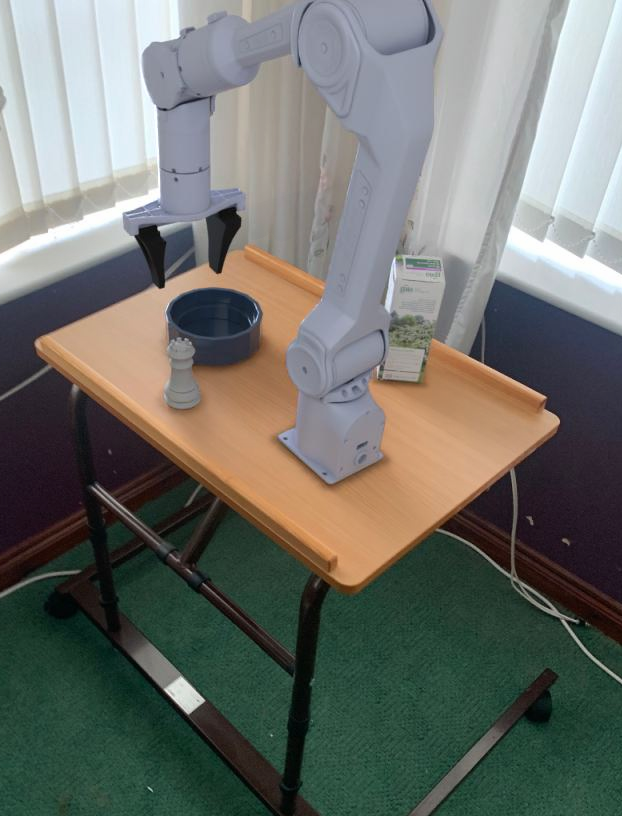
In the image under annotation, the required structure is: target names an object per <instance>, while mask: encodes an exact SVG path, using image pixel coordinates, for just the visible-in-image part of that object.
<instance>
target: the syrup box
mask: <svg viewBox="0 0 622 816" xmlns="http://www.w3.org/2000/svg"><path fill="white" fill-rule="evenodd" d="M446 285H447V284H446V277H445V271H444V262H443V257H441V256H428V255H413V254H400V253H399V254H398V253H397V254H395V257H394V260H393V263H392V266H391V269H390V273H389V276H388V283H387V290H386V295H385V301H384V305H383V306H384V307H385V309H386V310H387V311H388V313H389V314H390V315H391V317H392V319H391V322H390V325H389V331H388V336H389V353H388V356H387V358H386V360H385V361H384V362H383V363H382V364H381V365H379V366H377V367H376V379H377V381H385V382H386V381H387V382H399V383H414V384H422V383H423V381H424V375H425V372H426V367H427V363H428V359H429V355H430V351H431V347H432V343H433V338H434V334H435V331H436V326H437V322H438V318H439V313H440V310H441V305H442V303H443V302H442V301H443V297H444V293H445V289H446Z"/></svg>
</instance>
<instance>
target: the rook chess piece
mask: <svg viewBox="0 0 622 816" xmlns="http://www.w3.org/2000/svg"><path fill="white" fill-rule="evenodd" d="M170 342H171V344H169V345H168V346H167V349H166V354H167V355H168V357H169V361H168V364H169V366H170V374H169V376H170V377H169V379H168V381H167V383H166V384H165V386H164V390H163V391H164V395H163V399H164V402H165V403H166V404H167V405H168V406H169V407H170V408H172V409H174V410H177V411H187V410H191V409H193V408H194V407H196V406H197V405H198V404H199V403H200V402H201V399H202V395H201V387H200V385H199V383H198V382H197V380H196V379H195V377H194V371H193V365H194V363H193V359H192V358H191V357H192V356H193V355H194V353H195V348H194V347H193V346H192V343H191V342H189V339H187V338H185V339H184V341H181V337H180V338H177V341H176V342H175V340H174V339H173V340H171V341H170Z"/></svg>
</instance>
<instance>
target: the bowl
mask: <svg viewBox="0 0 622 816" xmlns="http://www.w3.org/2000/svg"><path fill="white" fill-rule="evenodd" d="M164 317H165V318H164V319H165V337H166V338H165V339H166V341H167V345H168V346H169V344H171V342H170V341H171V340H173V339H174V340H175V342H176V341H177V338H180V337H181V341H184V339H185V338H187V339H189V342H191V343H192V346H193V347H194V348H195V353H194V355H193V356H192V357H191V358H192V359H193V365H200V366H206V367H207V366H209V367H221V366H229V365H230V366H231V365H235V364H238V363H240V362H242V361H245V360H247V359H250V358H251V357H252V356H253V355H254V354H255V353H256V352H257V351H258V350H259V349H260V346H261V342H262V338H263V319H264V312H263V310H262V308H261V305H260V303H259V302H258V300H256V299H254V298H253V297H252V296H250V295H249V294H247V293H246V292H243V291H239V290H237V289H234V288H227V287H217V286H210V287H209V286H208V287H199V288H194V289H191V290H187V291H185V292H182V293H180V294H178V295H177V296H176V297H174V298H173V299H172V300H170V301H169V302H168V305H167V307H166V309H165V312H164Z"/></svg>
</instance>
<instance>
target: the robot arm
mask: <svg viewBox="0 0 622 816" xmlns="http://www.w3.org/2000/svg"><path fill="white" fill-rule="evenodd" d="M435 9H436V8H435V7H434V5H433V2H432V1H431V0H294V2H291V3H289V4H287V5H285V6H283V7H280V8H279V9H277V10H275V11H272V12H271V13H269V14H266V15H265V16H262V17H260V18H259V19H256V20H254V21H252V22H249V21H248V20H246V19H245V18H244V17H241V16H239V15H235V14H229V15H228V12H227V10H222V11H217V12H213V13H210V14H209V15H207V16H206V22H207V24H206V25H203V26H201V27H198V28H196V27H195V26H194V25H192V26H187V27H184V28H182V29H180V30H179V37H178V38H174V39H169V40H165V41H151V42H150V43H149V45H148V46H146V48H145V49H144V50H143V52H142V53H141V57H140V66H139V67H140V77H141V82H142V86H143V88H144V91H145V93H146V95H147V97H148V99H149V100H150V102H151V103H152V104H153V105H154V120H155V121H154V122H155V139H156V141H155V142H156V159H157V160H156V161H157V175H158V176H157V177H158V178H157V179H158V193H159V194H158V195H159V196H158V197H159V198H156V199H154V200H152V201H150V202H148V203H145V204H143V205H141V206H138V207H136V208H134V209H131V210H127V211H123V212H122V214H121V215H122V224H123V230H124V231H125V232H126V233H127V234H128V236H130V237H132V236H133V238H134V239H135V241H136V243H137V244H138V246H139V248H140V250H141V252H142V254H143V257H144V259H145V261H146V264H147V267H148V269H149V272H150V277H151V280H152V283H153V285H154V286H155V287H156V288H157V289H159V290H161V289H165V288H166V274H165V273H166V272H165V255H166V248H167V244H168V241H166V240H165V239H164V238H163V236H161V230H159V227H165V226H168V225H174V224H178V223H191V222H197V221H201V220H204V219H205V222H206V230H207V245H208V247H207V249H208V250H207V258H208V267H209V269H211V270H212V271H213V273H215V274H216V275H220V274H222V272H223V270H224V269H223V268H224V264H225V261H226V257H227V254H228V252H229V250H230V247H231V245H232V242H233V241H234V238H235V236H236V235H237V233H238V232H239V231H240V229H241V227H242V216H240V215H239V214H238V212H242V211H245V210H246V193H245V192H243V190H241V189H240V188H239V187H232V188H227V189H226V188H225V189H211V188H212V187H211V117H212V116H214V112H216V99H217V96H218V94H221V93H225V92H228V91H230V90H235V89H238V88H241V87H243V86H247V85H249V84H250V83H252V81H254V80H255V78H256V77H257V76H258V74H259V71H260V68H261V65H262V63H265V62H269V61H272V60H276V59H279V58H283V57H286V56H290V55H291V57H292V62H293V66H294V67H295V68H297V69H301V68H302V69H303V72H304V73H305V76H306V78H307V79H308V81H309V82H310V84H311V85H312V87H313V88H314V89H315V91H316V92H317V94H318V95H319V96H320V97H321V99H322V101H323V102H324V103H325V104H326V106H327V107H328V108H329V110H330V111H331V113H333V115H334V117H335V118H336V119H337V120H338V122H339V123H340V124H341V125H342V127H343V128H344V130H345V131H347V132H349V133H351V134H354V135H355V136H356V138H357V141H358V146H357V150H356V156H355V159H354V163H353V167H352V170H351V175H350V179H349V183H348V189H347V192H346V196H345V200H344V204H343V207H342V208H343V209H342V213H341V217H340V221H339V225H338V229H337V232H336V233H337V234H336V238H335V242H334V246H333V250H332V254H331V259H330V263H329V266H328V271H327V274H326V278H325V282H324V287H323V291H322V295H321V296H322V297H321V299H320V300H319V301H318V303H317V304H316V305H315V306H314V307H313V308H312V310H311V311H310V312H308V314H307V315H306V317H304V318H303V320H302V321H301V322H300V324H299V327H298V331H297V334H296V336H295V338H294V339H292V340H291V341H290V343H289V344H288V345H287V348H286V351H285V366H286V371H287V374H288V377H289V379H290V380H291V383H292V384H293V385H294V386H295V387H296V388H297V390H298V395H297V404H296V405H297V407H296V417H295V426H294V427H292V428H290V429H288V430H285V431H283V432H281V433H279V434H278V435H277V439H278V441H279V442H280V443H282V444H283V446H284V447H286V448H287V449H288V450H289V451H290V452H292V454H294V455H295V456H296V457H297V458H298V459H299V460H300V461H302V463H304V464H305V465H306V466H307V467H308V468H309V469H310V470H311V471H313V472H314V473H315V474H316V475H317V476H319V477H320V479H321V480H322V481H324V482H325V483H326V484H328V485H334V484H336V483H338V482H340V481H342V480H344V479H346V478H348V477H349V476H351V475H353V474H356V473H358V472H360V471H362V470H363V469H365V468H367V467H370V466H371V465H373V464H375V463H377V462H379V461H382V460H383V459H384V454H383V452H382V451H381V450H380V449H381V446H382V440H383V436H384V431H385V425H386V413H385V411H384V410H383V409H382V407H381V406H380V405H379V404H378V403H377V402H376V400H375V399H374V398H373V396H372V393H371V391H370V387H369V382H370V380H372V379H373V378H374V373H375V368H377V366H379V365H381V364H382V363H383V362H384V361H385V360H386V358H387V356H388V353H389V336H388V331H389V325H390V322H391V319H392V317H391V315H390V314H389V313H388V311H387V310H386V309H385V307H384V306H385V305H384V304H382V303H381V302H382V298H383V295H384V292H385V288H386V285H387V282H388V280H389V277H390V272H391V266H392V263H393V260H394V257H395V254H396V253H397V251H398V247H399V244H400V241H401V237H402V234H403V232H404V228H405V225H406V223H407V222H406V221H407V218H408V215H409V212H410V208H411V205H412V203H413V199H414V196H415V192H416V189H417V186H418V183H419V180H420V178H421V177H420V176H421V174H422V171H423V167H424V164H425V162H426V159H427V158H426V157H427V154H428V152H429V148H430V145H431V142H432V139H433V134H434V129H435V96H434V95H435V81H434V80H435V77H434V75H435V74H434V72H435V67H436V64H437V61H438V60H437V59H438V56H439V53H440V50H441V47H442V43H443V41H444V37H445V31H444V28H443V26H442V24H441V22H440V19H439V17H438V14H437V12H436V10H435Z"/></svg>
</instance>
